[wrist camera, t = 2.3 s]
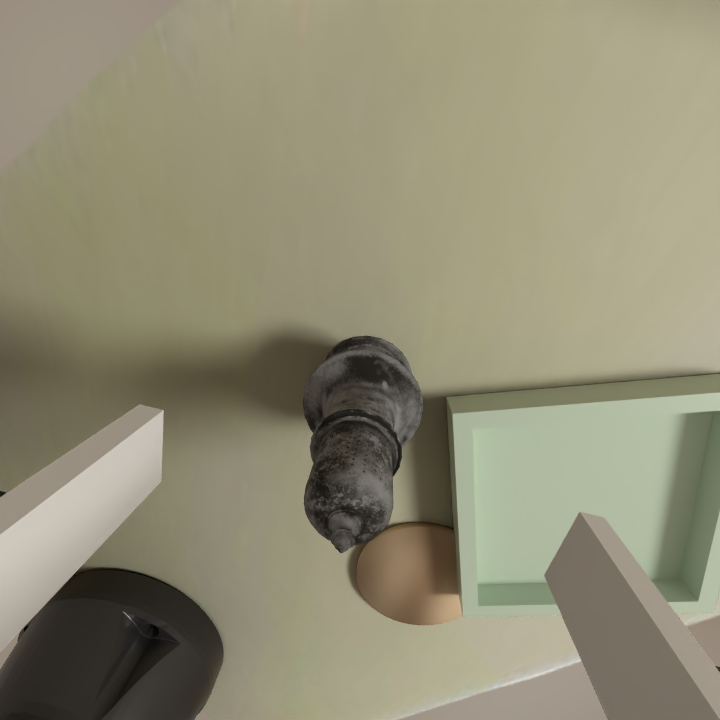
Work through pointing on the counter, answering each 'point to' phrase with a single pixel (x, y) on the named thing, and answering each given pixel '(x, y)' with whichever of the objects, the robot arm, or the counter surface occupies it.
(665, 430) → the tray
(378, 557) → the cork coaster
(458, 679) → the counter surface
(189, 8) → the counter surface
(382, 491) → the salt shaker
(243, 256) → the counter surface
